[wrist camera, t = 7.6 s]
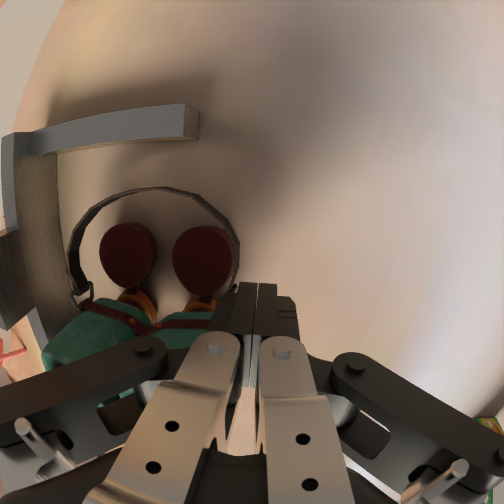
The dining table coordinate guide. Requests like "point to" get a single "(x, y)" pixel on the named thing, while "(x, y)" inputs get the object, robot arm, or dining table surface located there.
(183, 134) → the bracket
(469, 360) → the dining table surface
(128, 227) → the binoculars
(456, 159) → the dining table surface
